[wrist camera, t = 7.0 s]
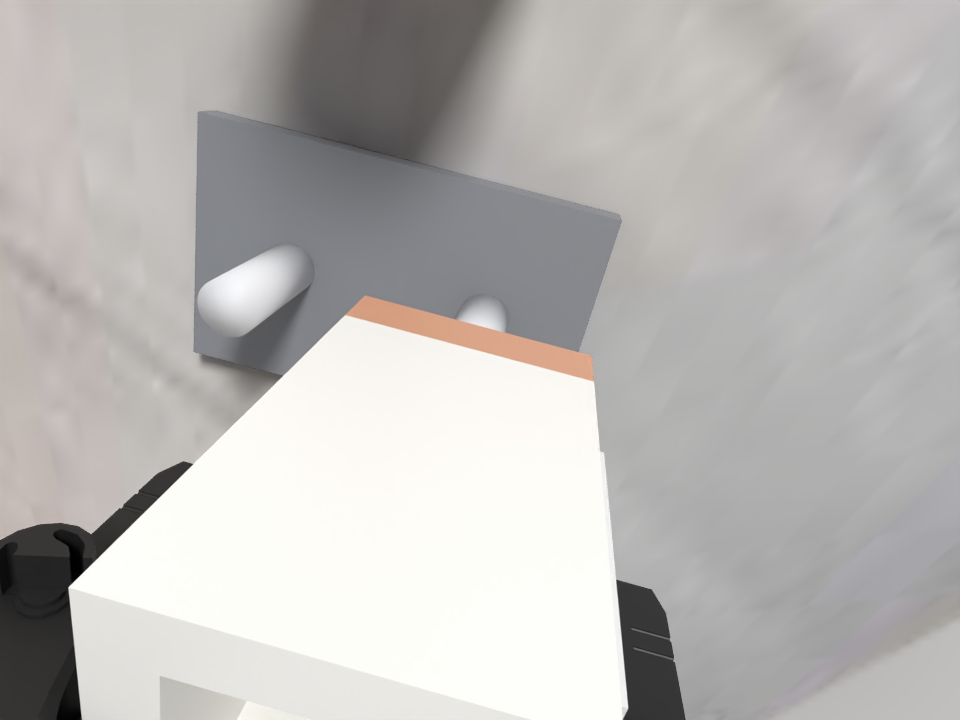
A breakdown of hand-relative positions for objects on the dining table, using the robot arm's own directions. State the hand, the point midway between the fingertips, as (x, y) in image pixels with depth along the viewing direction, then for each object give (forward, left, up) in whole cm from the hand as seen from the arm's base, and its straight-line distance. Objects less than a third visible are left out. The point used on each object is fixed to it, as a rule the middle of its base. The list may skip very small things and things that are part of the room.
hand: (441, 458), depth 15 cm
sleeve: (0, 0, -2) cm, 2 cm away
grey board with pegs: (-4, 0, -11) cm, 12 cm away
